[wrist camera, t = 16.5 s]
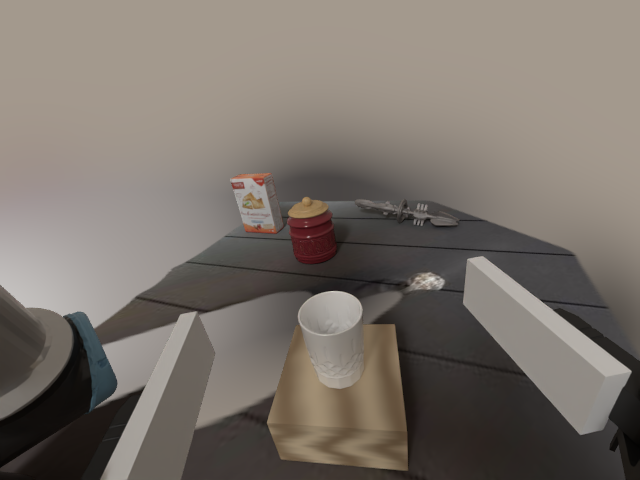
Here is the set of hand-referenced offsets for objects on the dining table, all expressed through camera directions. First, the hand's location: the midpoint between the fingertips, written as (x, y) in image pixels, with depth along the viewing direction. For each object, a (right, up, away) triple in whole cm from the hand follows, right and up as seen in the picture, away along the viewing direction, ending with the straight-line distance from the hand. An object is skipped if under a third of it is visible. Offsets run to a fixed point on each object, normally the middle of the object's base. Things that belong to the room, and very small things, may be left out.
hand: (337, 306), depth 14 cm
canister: (-2, -1, +72) cm, 72 cm away
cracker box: (-22, +7, +94) cm, 96 cm away
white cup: (+2, -14, +25) cm, 29 cm away
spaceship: (+27, +9, +82) cm, 87 cm away
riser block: (+3, -21, +29) cm, 36 cm away
